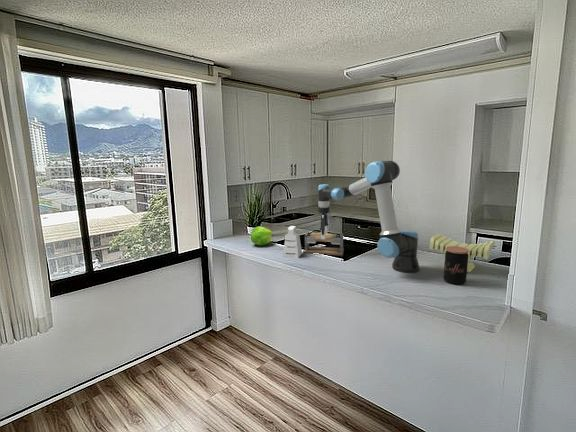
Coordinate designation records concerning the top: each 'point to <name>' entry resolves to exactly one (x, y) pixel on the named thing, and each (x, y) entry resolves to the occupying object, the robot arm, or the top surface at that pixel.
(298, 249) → the grater
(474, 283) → the top surface
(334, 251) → the bracket stand
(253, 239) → the lettuce
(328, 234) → the rail
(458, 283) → the coffee jar
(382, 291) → the top surface
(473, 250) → the slatted curved stool
